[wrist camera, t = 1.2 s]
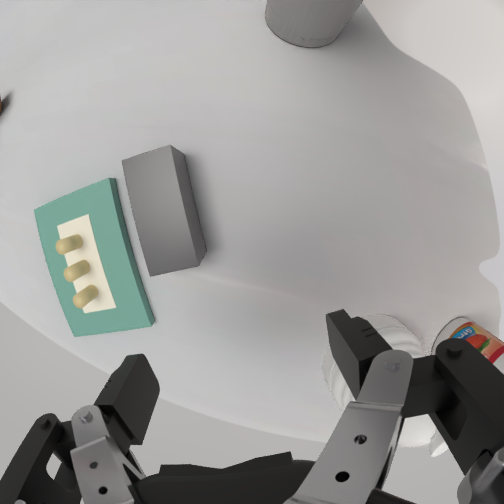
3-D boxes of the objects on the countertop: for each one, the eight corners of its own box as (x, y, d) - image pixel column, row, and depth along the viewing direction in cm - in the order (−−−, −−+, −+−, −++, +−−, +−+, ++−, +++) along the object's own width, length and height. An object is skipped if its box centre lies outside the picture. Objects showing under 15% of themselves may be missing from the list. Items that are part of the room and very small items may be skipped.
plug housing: (143, 165, 27) (121, 160, 21) (184, 153, 27) (170, 144, 21) (166, 260, 30) (150, 276, 24) (206, 251, 30) (198, 265, 24)
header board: (40, 208, 27) (16, 212, 22) (114, 178, 27) (93, 177, 22) (79, 331, 31) (61, 349, 26) (154, 320, 31) (142, 341, 26)
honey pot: (420, 326, 33) (500, 397, 16) (375, 397, 35) (425, 481, 18) (352, 301, 32) (436, 393, 14) (305, 384, 34) (341, 493, 16)
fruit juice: (453, 367, 36) (545, 461, 8) (420, 366, 35) (521, 485, 7) (477, 318, 34) (588, 399, 6) (446, 312, 33) (578, 413, 6)
